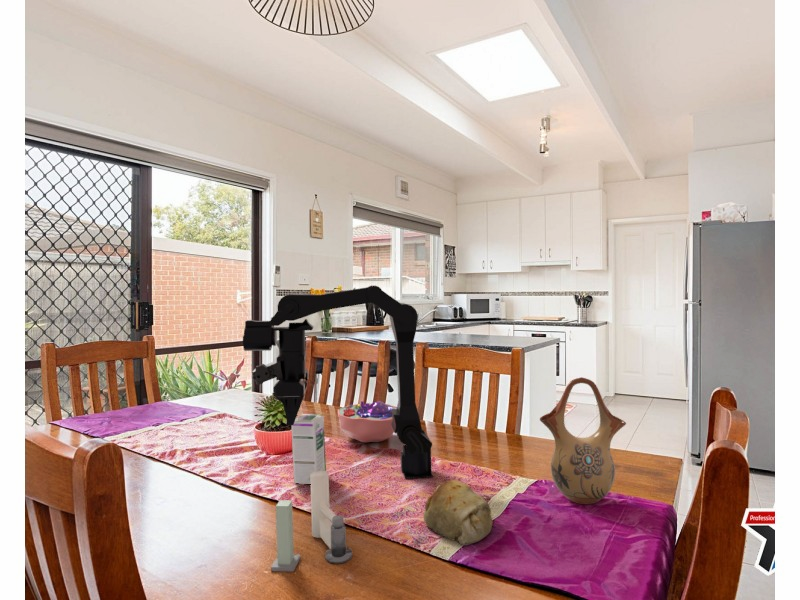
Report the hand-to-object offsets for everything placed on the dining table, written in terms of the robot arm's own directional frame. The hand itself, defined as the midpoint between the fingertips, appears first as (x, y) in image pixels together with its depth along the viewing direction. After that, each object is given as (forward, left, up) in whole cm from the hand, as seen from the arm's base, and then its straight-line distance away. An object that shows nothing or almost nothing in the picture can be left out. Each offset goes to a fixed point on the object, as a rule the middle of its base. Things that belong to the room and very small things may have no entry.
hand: (292, 419), depth 109 cm
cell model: (-18, -27, -15) cm, 36 cm away
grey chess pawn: (-11, +31, -14) cm, 36 cm away
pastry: (-32, +24, -15) cm, 43 cm away
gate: (-9, +27, -14) cm, 32 cm away
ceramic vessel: (-59, +18, -15) cm, 64 cm away
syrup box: (-3, -1, -15) cm, 15 cm away
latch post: (-2, +33, -14) cm, 36 cm away
